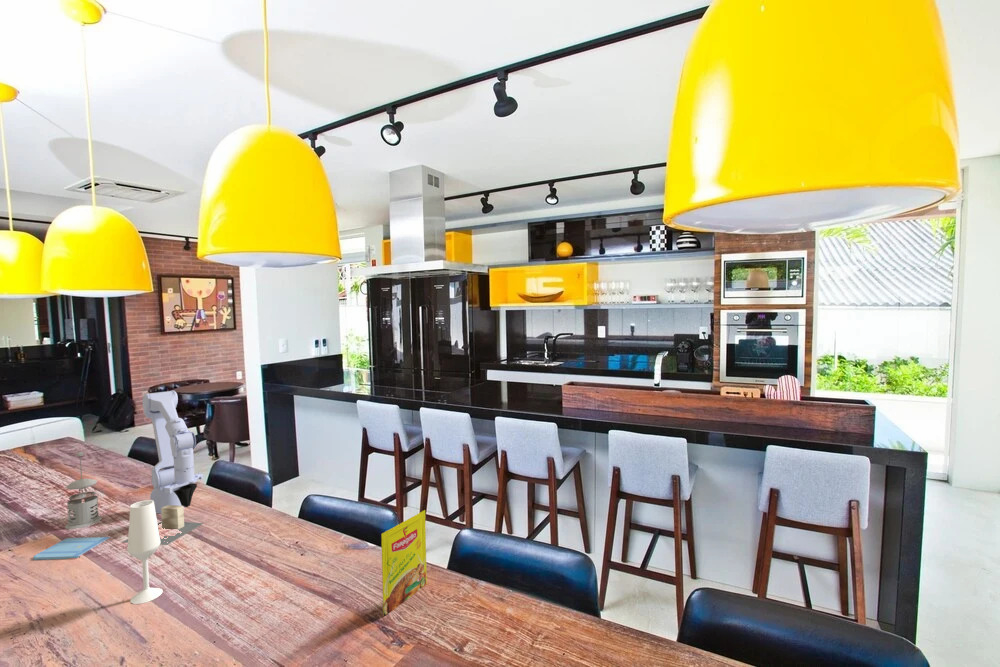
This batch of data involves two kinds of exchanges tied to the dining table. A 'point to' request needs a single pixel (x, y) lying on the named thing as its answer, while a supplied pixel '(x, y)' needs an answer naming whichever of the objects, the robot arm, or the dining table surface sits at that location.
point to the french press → (82, 504)
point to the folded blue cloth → (69, 548)
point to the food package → (403, 561)
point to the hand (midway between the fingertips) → (185, 506)
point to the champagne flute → (143, 544)
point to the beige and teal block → (172, 517)
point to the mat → (187, 528)
